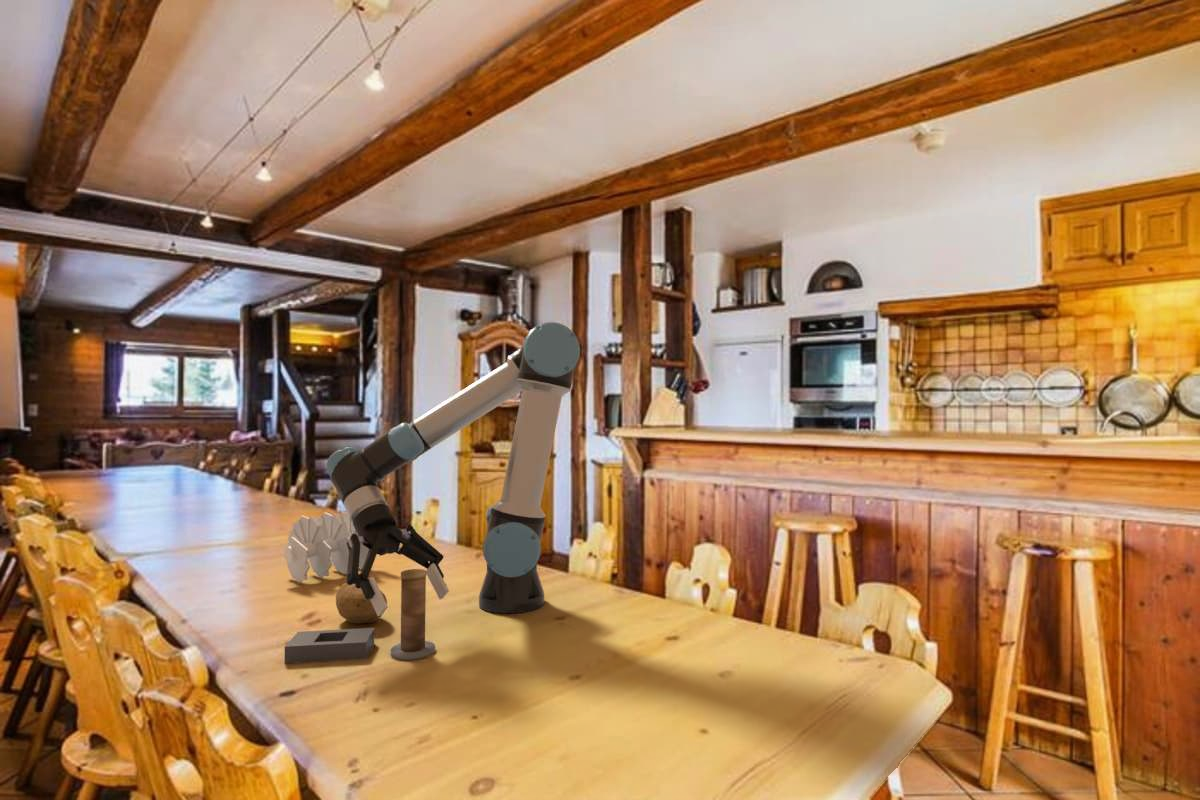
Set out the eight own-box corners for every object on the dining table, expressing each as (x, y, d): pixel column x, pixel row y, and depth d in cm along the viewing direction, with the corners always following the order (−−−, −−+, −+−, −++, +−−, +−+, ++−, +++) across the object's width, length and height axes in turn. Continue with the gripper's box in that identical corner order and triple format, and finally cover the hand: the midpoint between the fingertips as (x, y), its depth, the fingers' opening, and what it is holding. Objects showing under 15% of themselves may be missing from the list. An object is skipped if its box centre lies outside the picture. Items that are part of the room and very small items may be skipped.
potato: (355, 635, 132) (355, 595, 132) (325, 620, 142) (325, 583, 142) (399, 624, 139) (399, 586, 139) (367, 610, 149) (368, 574, 149)
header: (374, 643, 127) (374, 627, 127) (366, 658, 119) (366, 642, 119) (297, 647, 125) (297, 631, 125) (284, 663, 117) (284, 646, 117)
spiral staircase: (281, 597, 173) (367, 574, 193) (310, 578, 163) (397, 555, 183) (265, 531, 178) (350, 515, 198) (292, 509, 168) (379, 494, 187)
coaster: (436, 643, 127) (436, 639, 127) (432, 658, 119) (432, 654, 119) (394, 645, 126) (394, 641, 126) (387, 661, 118) (387, 657, 118)
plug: (425, 642, 125) (426, 568, 126) (425, 651, 121) (426, 574, 121) (400, 644, 124) (401, 569, 124) (399, 653, 120) (400, 575, 120)
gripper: (414, 518, 143) (458, 599, 133) (302, 534, 124) (345, 631, 114) (429, 495, 140) (476, 577, 130) (317, 509, 120) (362, 606, 111)
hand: (415, 603), depth 122 cm, fingers open, 13 cm apart
